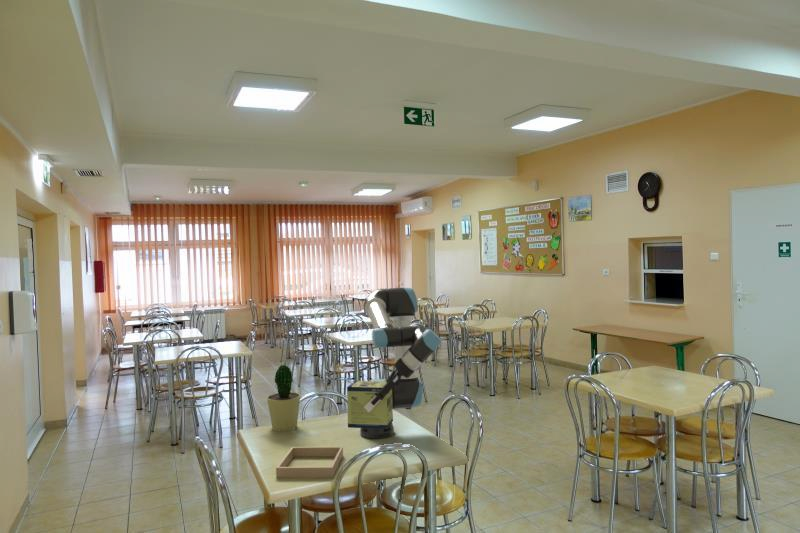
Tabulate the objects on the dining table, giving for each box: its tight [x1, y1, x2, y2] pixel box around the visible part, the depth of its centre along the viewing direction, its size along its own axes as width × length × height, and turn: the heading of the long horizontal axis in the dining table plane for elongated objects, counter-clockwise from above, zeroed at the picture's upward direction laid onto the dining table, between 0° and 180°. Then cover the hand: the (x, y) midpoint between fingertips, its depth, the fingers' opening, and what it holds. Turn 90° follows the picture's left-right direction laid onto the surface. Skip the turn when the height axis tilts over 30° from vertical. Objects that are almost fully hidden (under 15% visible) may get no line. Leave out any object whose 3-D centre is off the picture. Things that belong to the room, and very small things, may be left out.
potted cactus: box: [266, 364, 301, 432], centre depth 257 cm, size 15×15×30 cm
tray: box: [275, 446, 344, 478], centre depth 207 cm, size 21×22×4 cm
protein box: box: [346, 380, 394, 429], centre depth 207 cm, size 10×16×16 cm
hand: (368, 405), depth 207 cm, fingers closed on protein box, 11 cm apart
